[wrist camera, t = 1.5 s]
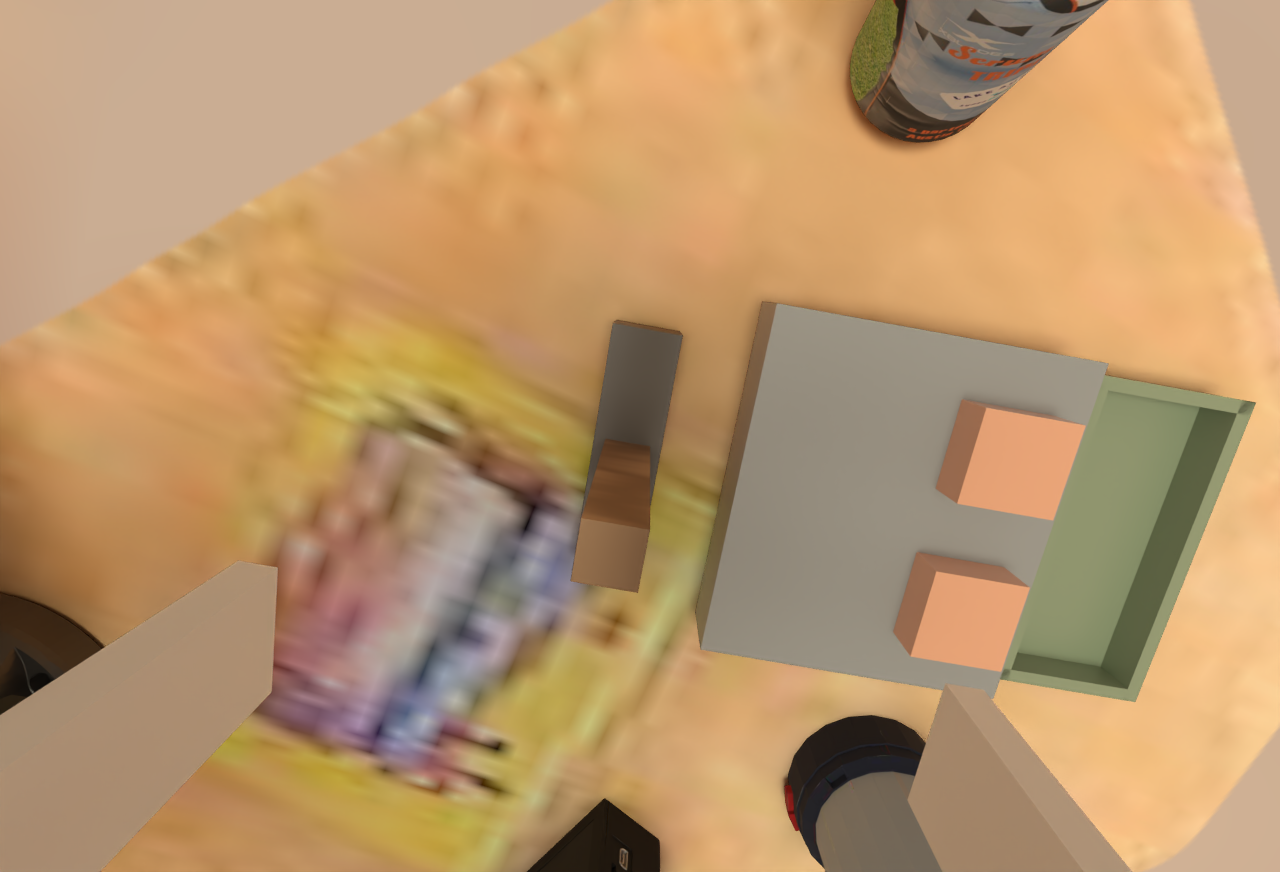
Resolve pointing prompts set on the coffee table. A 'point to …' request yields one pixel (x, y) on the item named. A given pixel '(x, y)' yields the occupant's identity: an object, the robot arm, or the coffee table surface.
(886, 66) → the beverage can
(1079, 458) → the box
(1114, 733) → the coffee table surface
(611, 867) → the digital camera
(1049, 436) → the tile
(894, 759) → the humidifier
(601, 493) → the scraper
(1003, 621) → the tile
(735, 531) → the grey flat block
